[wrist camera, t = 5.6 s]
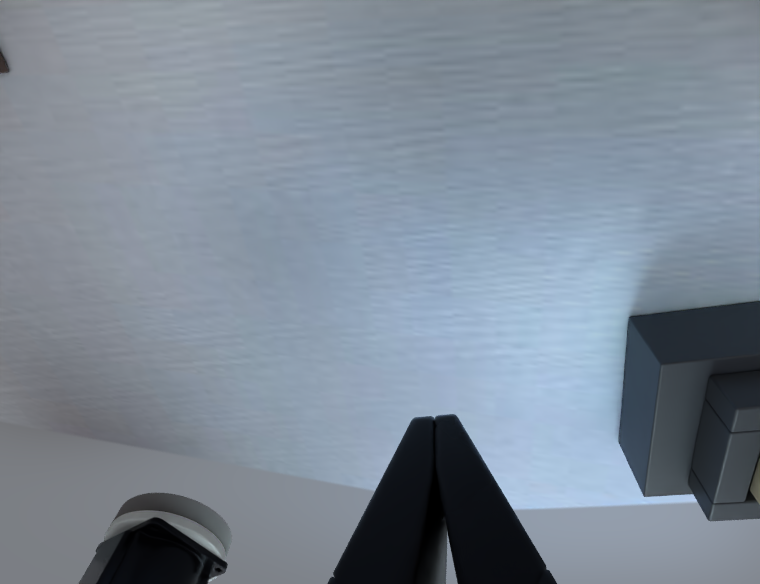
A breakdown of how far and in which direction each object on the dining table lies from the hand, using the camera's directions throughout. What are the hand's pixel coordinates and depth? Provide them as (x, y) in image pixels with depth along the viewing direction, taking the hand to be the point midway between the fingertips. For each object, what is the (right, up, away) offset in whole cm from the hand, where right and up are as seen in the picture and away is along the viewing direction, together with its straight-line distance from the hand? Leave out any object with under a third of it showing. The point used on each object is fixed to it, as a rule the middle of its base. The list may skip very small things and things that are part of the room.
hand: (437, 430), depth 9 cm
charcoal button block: (+15, -1, +12) cm, 20 cm away
